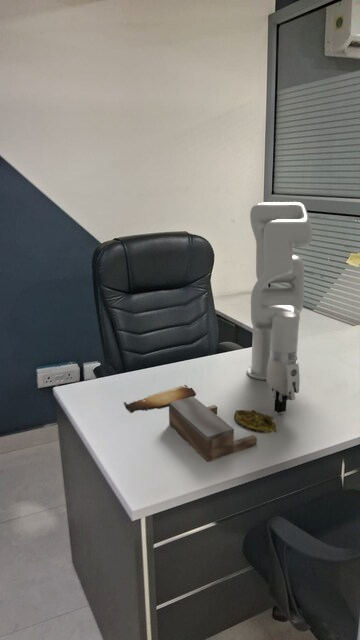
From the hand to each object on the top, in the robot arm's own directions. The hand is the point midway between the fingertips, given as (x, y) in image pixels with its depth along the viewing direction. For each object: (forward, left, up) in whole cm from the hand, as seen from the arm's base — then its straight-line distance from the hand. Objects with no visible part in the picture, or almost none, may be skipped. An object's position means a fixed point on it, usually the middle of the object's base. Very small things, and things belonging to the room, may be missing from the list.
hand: (280, 411), depth 145 cm
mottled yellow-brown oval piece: (+10, 0, -2) cm, 10 cm away
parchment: (+27, -26, -2) cm, 37 cm away
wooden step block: (+24, 0, -1) cm, 24 cm away
